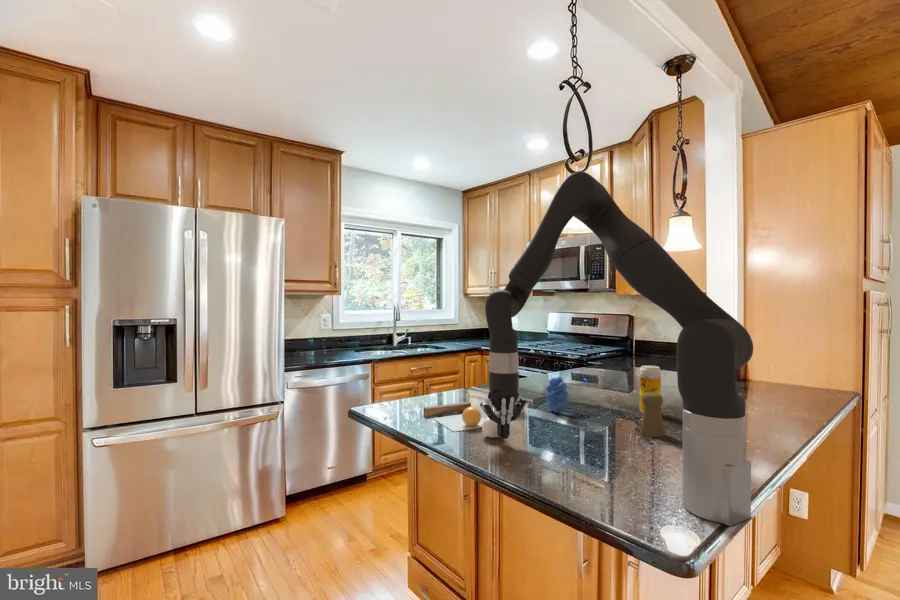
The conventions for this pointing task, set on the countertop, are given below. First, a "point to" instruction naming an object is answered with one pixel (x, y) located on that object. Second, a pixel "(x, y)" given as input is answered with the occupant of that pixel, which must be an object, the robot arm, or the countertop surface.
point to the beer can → (649, 381)
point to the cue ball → (489, 428)
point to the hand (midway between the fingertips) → (503, 438)
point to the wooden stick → (445, 409)
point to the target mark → (456, 423)
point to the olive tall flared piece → (652, 415)
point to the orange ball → (471, 416)
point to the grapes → (557, 394)
